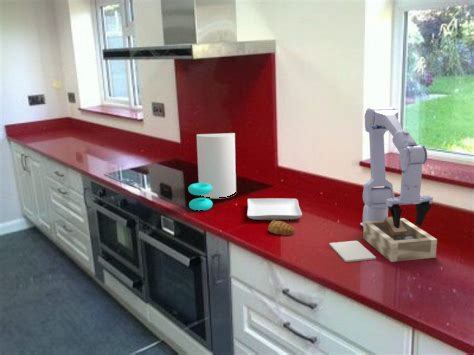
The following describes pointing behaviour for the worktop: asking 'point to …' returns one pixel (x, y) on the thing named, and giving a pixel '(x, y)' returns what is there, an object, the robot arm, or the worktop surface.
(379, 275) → the worktop surface
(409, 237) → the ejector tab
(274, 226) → the pastry
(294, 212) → the salad plate
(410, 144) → the robot arm
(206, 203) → the donuts
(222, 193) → the cylinder
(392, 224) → the walnut bar
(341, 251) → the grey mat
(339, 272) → the worktop surface
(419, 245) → the pocket board
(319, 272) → the worktop surface
